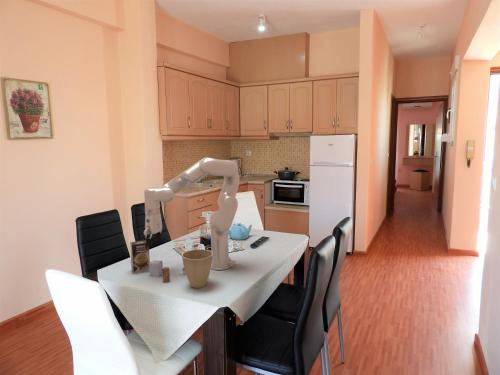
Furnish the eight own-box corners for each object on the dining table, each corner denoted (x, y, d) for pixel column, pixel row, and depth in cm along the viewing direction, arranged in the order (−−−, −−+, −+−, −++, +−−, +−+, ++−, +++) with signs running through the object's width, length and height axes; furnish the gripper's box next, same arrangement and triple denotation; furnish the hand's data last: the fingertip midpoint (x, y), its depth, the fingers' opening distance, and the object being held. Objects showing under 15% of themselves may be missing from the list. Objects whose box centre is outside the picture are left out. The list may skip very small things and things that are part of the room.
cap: (163, 272, 196) (162, 260, 195) (158, 276, 191) (157, 264, 190) (154, 271, 197) (153, 260, 196) (149, 275, 192) (148, 263, 191)
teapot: (224, 239, 257) (224, 224, 255) (233, 234, 270) (233, 220, 269) (244, 241, 251) (243, 226, 249) (252, 236, 264) (252, 221, 263)
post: (169, 280, 185) (169, 267, 184) (167, 282, 182) (166, 269, 181) (165, 280, 185) (164, 267, 184) (162, 282, 183) (162, 268, 182)
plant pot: (177, 288, 175) (175, 256, 172) (193, 277, 188) (192, 248, 186) (203, 293, 169) (202, 260, 166) (219, 281, 182) (218, 251, 180)
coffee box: (133, 274, 195) (131, 244, 193) (131, 270, 200) (129, 241, 198) (150, 270, 199) (149, 242, 197) (148, 267, 205) (146, 239, 202)
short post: (189, 273, 194) (189, 266, 193) (187, 275, 191) (187, 268, 191) (185, 273, 194) (184, 266, 194) (183, 274, 192) (182, 267, 191)
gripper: (150, 215, 180) (152, 248, 182) (166, 208, 197) (168, 239, 199) (137, 214, 182) (138, 247, 184) (154, 208, 198) (155, 238, 201)
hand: (154, 243), depth 192 cm, fingers open, 9 cm apart
